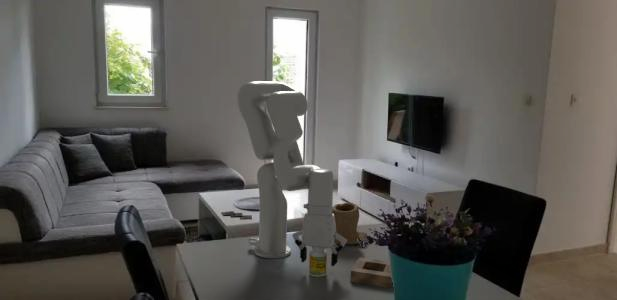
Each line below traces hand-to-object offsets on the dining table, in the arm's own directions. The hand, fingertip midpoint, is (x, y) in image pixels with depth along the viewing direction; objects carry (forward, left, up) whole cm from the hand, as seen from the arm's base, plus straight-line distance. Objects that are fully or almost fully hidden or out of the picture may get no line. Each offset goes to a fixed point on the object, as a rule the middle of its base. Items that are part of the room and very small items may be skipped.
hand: (318, 262), depth 155 cm
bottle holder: (+17, +4, -4) cm, 18 cm away
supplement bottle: (0, 0, -4) cm, 4 cm away
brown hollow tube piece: (+2, +32, -4) cm, 32 cm away
